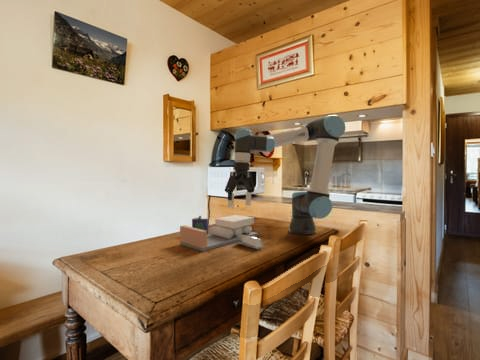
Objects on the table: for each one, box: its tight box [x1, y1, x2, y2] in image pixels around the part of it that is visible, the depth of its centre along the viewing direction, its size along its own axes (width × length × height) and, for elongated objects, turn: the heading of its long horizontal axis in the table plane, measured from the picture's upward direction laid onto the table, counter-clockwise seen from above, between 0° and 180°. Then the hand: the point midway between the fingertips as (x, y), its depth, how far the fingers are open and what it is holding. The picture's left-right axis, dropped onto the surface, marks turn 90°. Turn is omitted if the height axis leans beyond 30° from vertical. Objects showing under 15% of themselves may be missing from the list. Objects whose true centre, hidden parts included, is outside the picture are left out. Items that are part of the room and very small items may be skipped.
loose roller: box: [235, 234, 264, 250], centre depth 128 cm, size 13×5×5 cm, turn 45°
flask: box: [191, 215, 209, 235], centre depth 153 cm, size 9×3×11 cm, turn 88°
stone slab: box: [214, 214, 255, 229], centre depth 147 cm, size 14×16×4 cm
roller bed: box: [179, 224, 259, 252], centre depth 140 cm, size 18×38×9 cm, turn 135°
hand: (239, 206), depth 130 cm, fingers open, 13 cm apart
